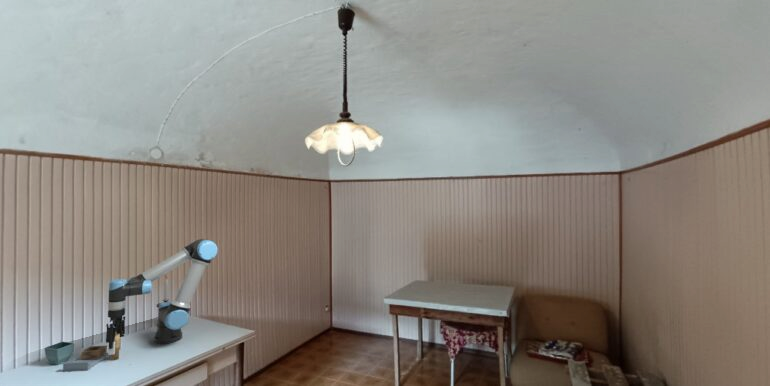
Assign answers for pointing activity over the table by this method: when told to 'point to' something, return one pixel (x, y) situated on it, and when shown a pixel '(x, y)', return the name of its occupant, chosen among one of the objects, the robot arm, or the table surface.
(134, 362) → the table surface
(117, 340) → the dowel
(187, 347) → the table surface
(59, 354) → the flower pot
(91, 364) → the board
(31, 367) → the table surface
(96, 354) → the block
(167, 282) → the candlestick
